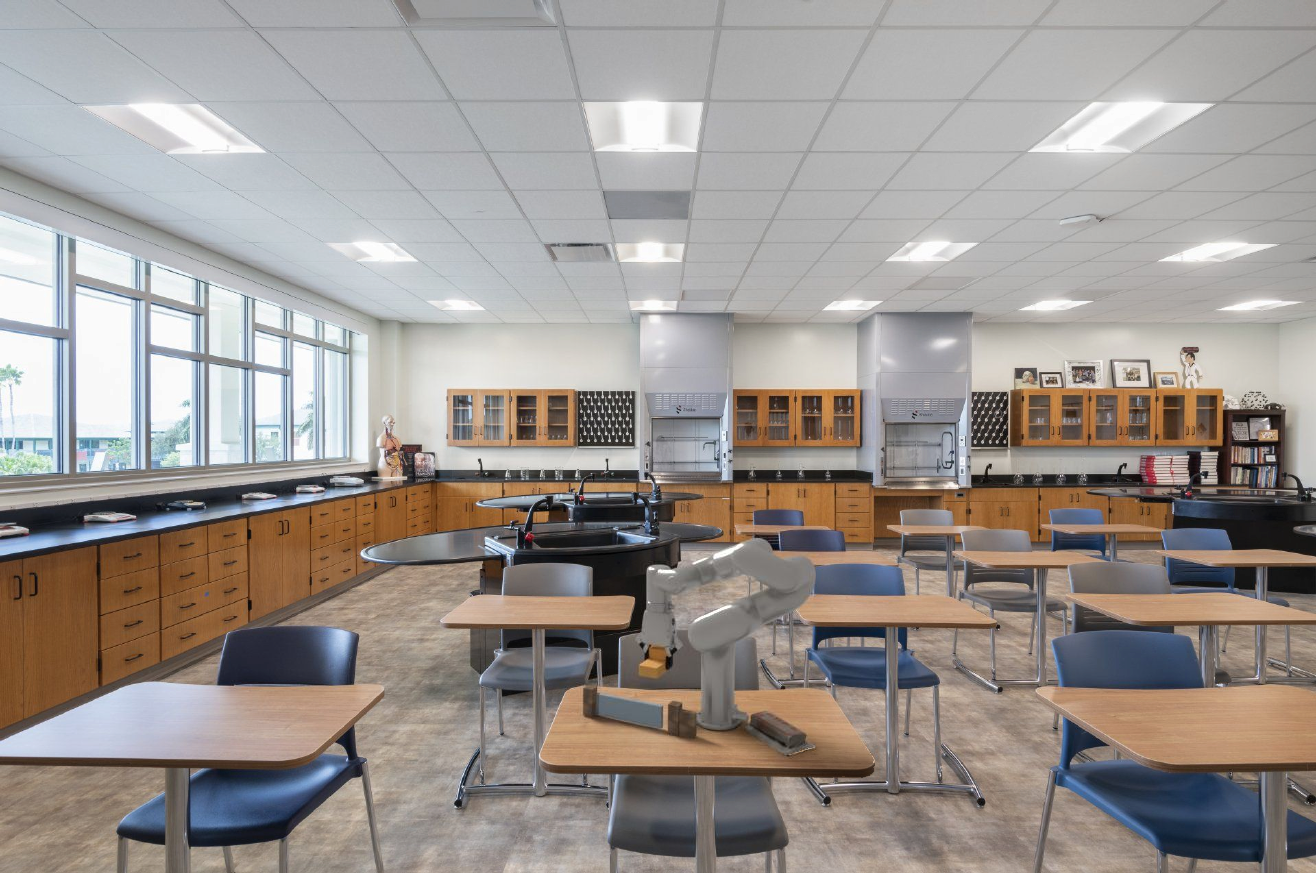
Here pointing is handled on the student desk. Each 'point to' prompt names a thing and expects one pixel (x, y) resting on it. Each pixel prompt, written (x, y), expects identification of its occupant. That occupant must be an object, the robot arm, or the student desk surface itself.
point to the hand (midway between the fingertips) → (658, 666)
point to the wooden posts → (678, 718)
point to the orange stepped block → (654, 663)
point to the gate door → (629, 710)
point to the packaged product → (777, 733)
